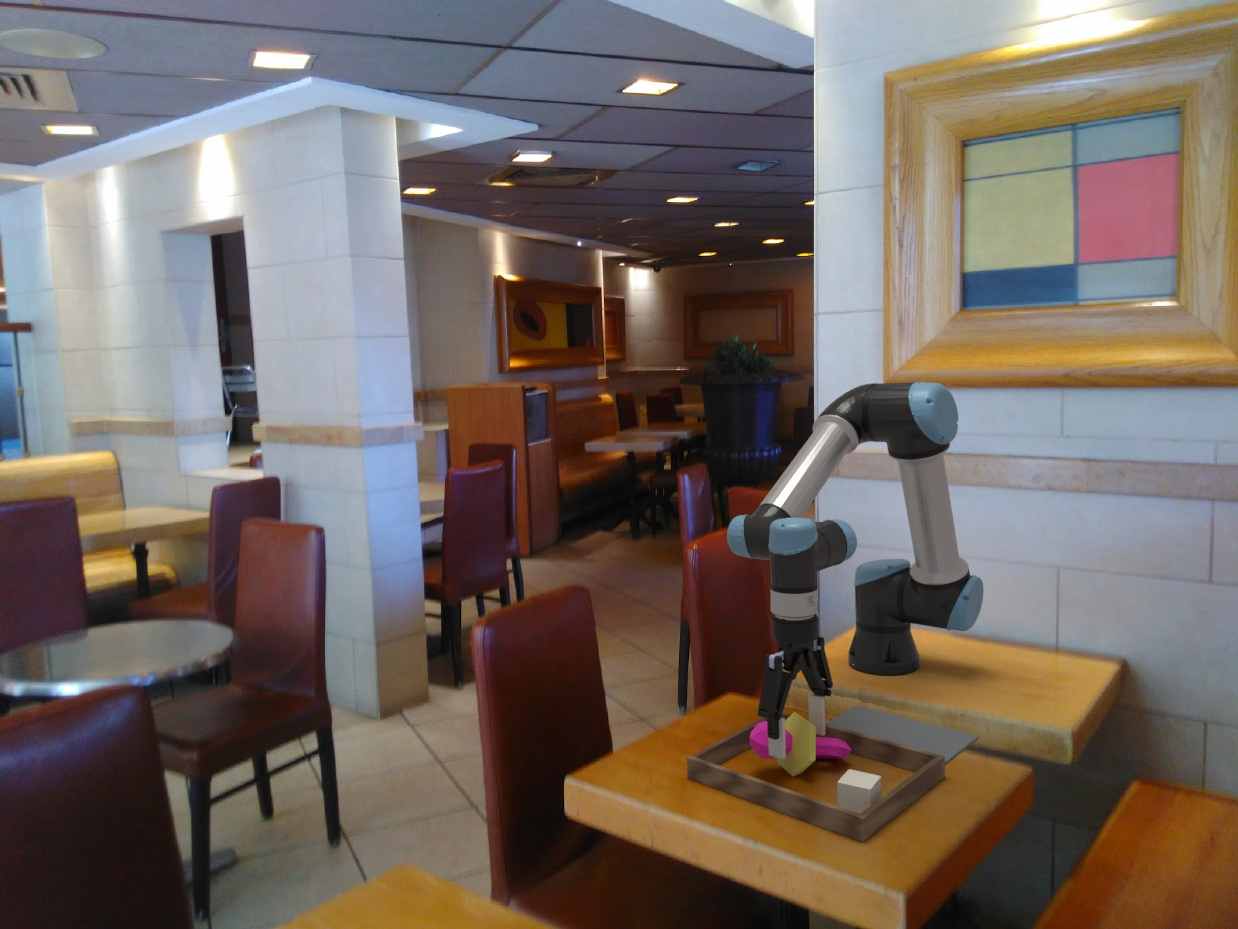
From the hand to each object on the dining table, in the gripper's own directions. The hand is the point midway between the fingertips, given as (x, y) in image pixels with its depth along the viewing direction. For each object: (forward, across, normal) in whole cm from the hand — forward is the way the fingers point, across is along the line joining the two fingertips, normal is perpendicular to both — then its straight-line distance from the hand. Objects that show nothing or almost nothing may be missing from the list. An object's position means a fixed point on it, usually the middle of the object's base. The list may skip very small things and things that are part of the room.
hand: (797, 744), depth 148 cm
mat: (+5, +22, -5) cm, 23 cm away
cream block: (+5, -5, -14) cm, 16 cm away
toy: (+5, +1, +1) cm, 5 cm away
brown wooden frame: (+5, 0, -3) cm, 6 cm away
